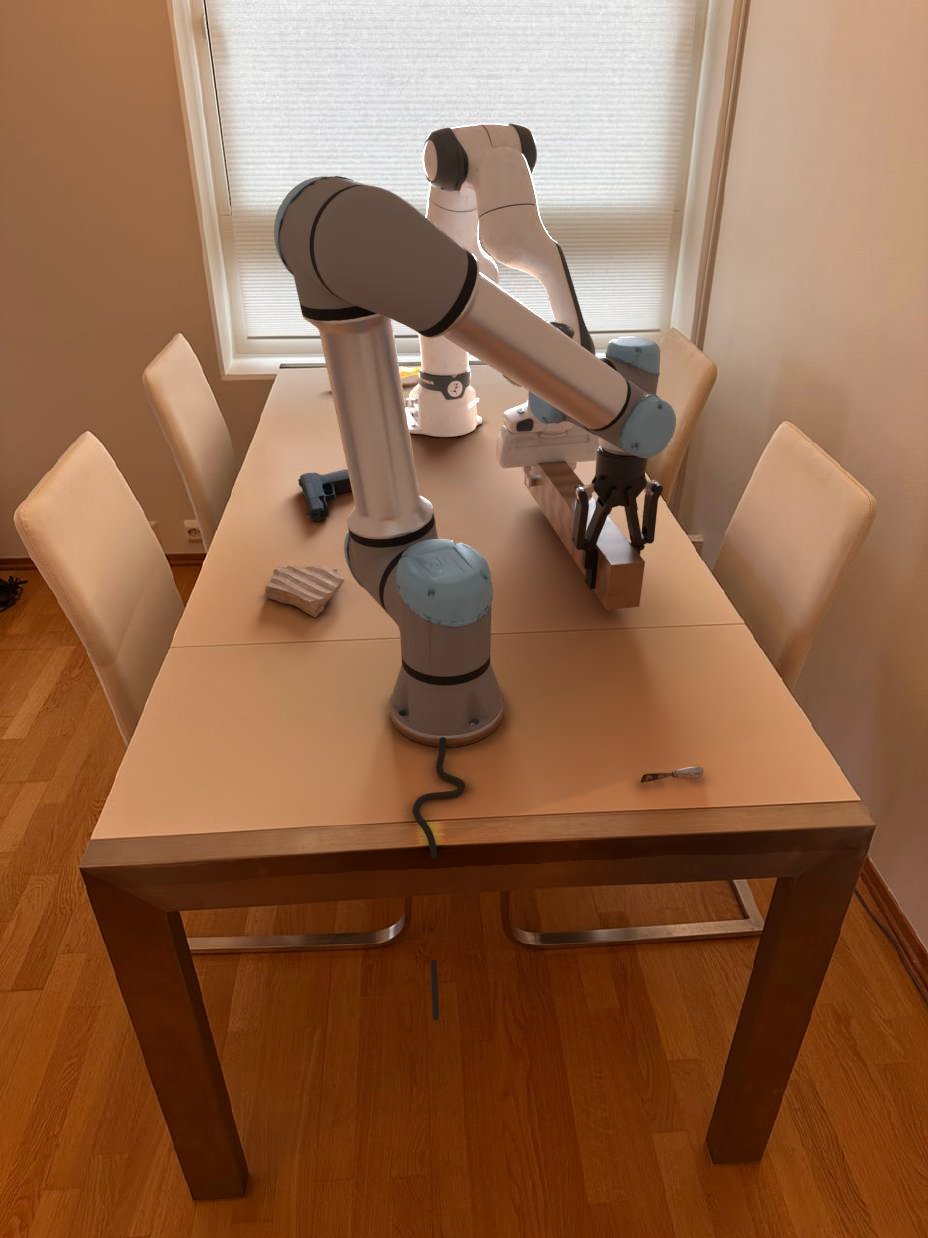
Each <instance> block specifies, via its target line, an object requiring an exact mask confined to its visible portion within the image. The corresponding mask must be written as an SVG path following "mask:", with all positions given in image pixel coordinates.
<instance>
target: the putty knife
mask: <svg viewBox="0 0 928 1238" xmlns="http://www.w3.org/2000/svg"><path fill="white" fill-rule="evenodd" d="M704 772H705V771H704V768H702V767H701V766H697V765H695V766H688V767H683V768H679V769H675V770H673V771H671V772H653V773H652V772H651V773H650V772H649V773H644V774H642V776H641V779H640V783H642V784H645V783H648V782H653V781H659V780H665V779H668V778H673V779H674V778H675V779H693V778H694V779H695V778H700V777H702V776H703V775H704Z"/></svg>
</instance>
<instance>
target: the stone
mask: <svg viewBox="0 0 928 1238" xmlns="http://www.w3.org/2000/svg"><path fill="white" fill-rule="evenodd" d="M344 582H345V578H344V576H342V575H341V574H339V573H338V569H337V568H336V569H331V568H328V567H325V566H321V565H310V566H300V565H287V566H283V567H282V566H277V567H275V568H274V570H273V573H272V574H271V578H270V581H269V583H267V584H266V585H265V587H264V588H265V593H264V597H265V598H266V599H269V600H273V601H277V602H278V603H280V604H288V605H291V606H294V607H296V608H298V609H300V610H301V611H302V612H305V614H307V615H309V616H310V617H314V618H317V617H318V615H319V614H321V613H322V612H323V611H324V609H325V606H326V604H327V602H328V601H329V600H330V599H331V598H332V596H334V595H335V594H337V593H338V591H340V589H341V587H342V585H343V583H344Z"/></svg>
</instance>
